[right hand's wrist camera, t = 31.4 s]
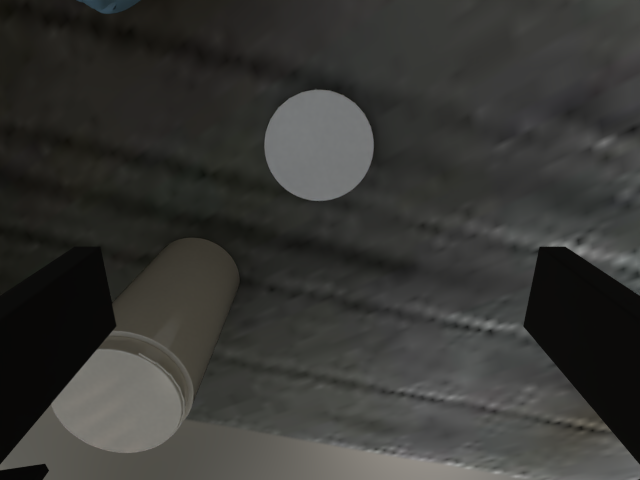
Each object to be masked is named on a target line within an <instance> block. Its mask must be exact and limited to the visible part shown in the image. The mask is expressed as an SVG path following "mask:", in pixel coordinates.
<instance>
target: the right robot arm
mask: <svg viewBox="0 0 640 480" xmlns="http://www.w3.org/2000/svg"><path fill="white" fill-rule="evenodd" d="M115 328H116V321H115V316H114V311H113V306H112V301H111V296H110V292H109V287H108V282H107V277H106V272H105V267H104V262H103V257H102V253H101V248H100V247H74V248H72V249H71V250H69V251H68V252H66V253H65V254H63V255H62V256H60V257H58V258H57V259H55V260H54V261H52V262H51V263H49V264H48V265H46V266H45V267H43V268H42V269H40V270H39V271H37V272H36V273H34V274H33V275H31V276H30V277H28V278H27V279H25V280H24V281H22V282H21V283H19V284H18V285H16V286H15V287H13V288H12V289H10V290H9V291H7V292H5V293H4V294H2V295H1V296H0V464H1V463H2V462H3V460H4V459H5V458H6V457H7V456H8V454H9V453H10V452H11V451H12V450H13V448H14V447H15V446H16V445H17V444H18V443H19V441H20V440H21V439H22V438H23V437H24V435H25V434H26V433H27V432H28V431H29V430H30V428H31V427H32V426H33V425H34V424H35V422H36V421H37V420H38V419H39V418H40V416H41V415H42V414H43V413H44V412H45V411H46V409H47V408H48V407H49V406H50V405H51V403H52V402H53V401H54V400H55V399H56V398H57V396H58V395H59V394H60V393H61V392H62V390H63V389H64V388H65V387H66V386H67V384H68V383H69V382H70V381H71V380H72V379H73V377H74V376H75V375H76V374H77V373H78V371H79V370H80V369H81V368H82V367H83V365H84V364H85V363H86V362H87V361H88V360H89V358H90V357H91V356H92V355H93V354H94V352H95V351H96V350H97V349H98V348H99V346H100V345H101V344H102V343H103V342H104V341H105V339H106V338H107V337H108V336H109V335H110V333H111V332H112V331H113V330H114V329H115ZM524 328H525V329H526V330H527V331H528V332H529V333H530V335H531V336H532V337H533V338H534V339H535V341H536V342H537V343H538V344H539V345H540V346H541V348H542V349H543V350H544V351H545V352H546V354H547V355H548V356H549V357H550V358H551V360H552V361H553V362H554V363H555V364H556V365H557V367H558V368H559V369H560V370H561V371H562V373H563V374H564V375H565V376H566V377H567V379H568V380H569V381H570V382H571V383H572V384H573V386H574V387H575V388H576V389H577V390H578V392H579V393H580V394H581V395H582V396H583V398H584V399H585V400H586V401H587V402H588V403H589V405H590V406H591V407H592V408H593V409H594V411H595V412H596V413H597V414H598V415H599V416H600V418H601V419H602V420H603V421H604V422H605V424H606V425H607V426H608V427H609V428H610V430H611V431H612V432H613V433H614V434H615V435H616V437H617V438H618V439H619V440H620V441H621V443H622V444H623V445H624V446H625V447H626V449H627V450H628V451H629V452H630V453H631V454H632V456H633V457H634V458H635V459H636V460H637V462H638V463H639V464H640V296H639V295H638V294H636V293H635V292H633V291H631V290H630V289H628V288H627V287H625V286H624V285H622V284H621V283H619V282H618V281H616V280H615V279H613V278H612V277H610V276H609V275H607V274H606V273H604V272H603V271H601V270H600V269H598V268H597V267H595V266H594V265H592V264H591V263H589V262H588V261H586V260H585V259H583V258H582V257H580V256H578V255H577V254H575V253H574V252H572V251H571V250H569V249H568V248H566V247H540V248H539V253H538V257H537V262H536V267H535V272H534V277H533V282H532V287H531V292H530V296H529V301H528V306H527V311H526V316H525V321H524ZM639 480H640V479H639Z"/></svg>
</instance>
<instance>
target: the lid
mask: <svg viewBox="0 0 640 480" xmlns="http://www.w3.org/2000/svg"><path fill="white" fill-rule="evenodd" d="M265 134H266V135H265V145H264V148H265V156H266V161H267V163H268V166H269V169H270V171H271V173H272V174H273V176H274V177H275V179H276V180H277V181H278V182H279V183H280V185H281V186H283V187H284V188H285V189H286V190H287V191H289V192H290V193H292V194H294V195H296V196H298V197H301V198H303V199H308V200H314V201H325V200H331V199H335V198H338V197H340V196H342V195H344V194H346V193H348V192H349V191H351V190H352V189H353V188H355V187H356V186H357V185H358V184H359V183H360V182H361V180H362V179H363V178H364V176H365V175H366V173H367V171H368V169H369V167H370V164H371V161H372V157H373V150H374V140H373V134H372V130H371V126H370V124H369V122H368V120H367V118H366V116H365V113H363V112H362V110H361V109H360V108H359V107H358V106H357V105H356V103H355V102H352V101H351V100H350V99H348V98H347V97H345V96H344V95H343V94H342V95H341V94H339V93H336V92H333V91H331V90H316V89H315V90H310V91H305V92H303V91H302V92H301V93H299V94H297V95H295V96H293V97H291V98H288V100H287V101H286V102H284V103H283V104H282V105H281V106H280V107H278V109H277V111H276V112H275V113H274V115H273V116H272V118H271V119H270V122H269V124H268V127H267V130H266V132H265Z"/></svg>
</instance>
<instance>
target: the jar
mask: <svg viewBox="0 0 640 480" xmlns="http://www.w3.org/2000/svg"><path fill="white" fill-rule="evenodd" d="M239 282H240V279H239V272H238V268H237V266H236V264H235V262H234V260H233V259H232V257H231V256H230V255H229V254H228V252H226V251H225V250H224V249H223V248H222V247H220V246H219V245H217V244H215V243H214V242H211V241H209V240H205V239H201V238H183V239H179V240H176V241H174V242H172V243H170V244H168V245H167V246H166V247H165V248H164V249H163V250H161V252H160V253H159V254H158V255H157V256H156V257H155V258H154V259H153V260H152V261H151V262H150V263H149V264H148V265H147V266H146V267H145V268H144V269H143V270H142V271H141V272H140V273H139V275H138V276H137V277H136V278H135V279H134V280H133V281H132V282H131V283H130V284H129V285H128V286H127V287H126V288H125V289H124V290H123V291H122V292H121V293H120V294H119V295H118V296H117V298H116V299H115V300H114V301H113V302H112V306H113V311H114V316H115V321H116V328H115V329H114V330H113V331H112V332H111V333H110V335H109V336H108V337H107V338H106V339H105V341H104V342H103V343H102V344H101V345H100V346H99V348H98V349H97V350H96V351H95V352H94V354H93V355H92V356H91V357H90V358H89V360H88V361H87V362H86V363H85V364H84V365H83V367H82V368H81V369H80V370H79V371H78V373H77V374H76V375H75V376H74V377H73V379H72V380H71V381H70V382H69V383H68V384H67V386H66V387H65V388H64V389H63V390H62V392H61V393H60V394H59V395H58V396H57V398H56V399H55V400H54V401H53V402H52V403H51V406H52V409H53V411H54V413H55V415H56V416H57V418H58V420H59V421H60V422H61V423H62V425H63V426H64V427H65V428H66V429H67V430H68V431H69V432H71V433H72V434H73V435H74V436H76V437H77V438H79V439H80V440H82V441H84V442H86V443H87V444H89V445H92V446H94V447H97V448H100V449H103V450H107V451H112V452H120V453H134V452H141V451H145V450H149V449H152V448H154V447H157V446H159V445H160V444H162V443H164V442H165V441H166V440H167V439H169V438H170V437H171V436H173V434H174V433H175V432H176V430H177V429H178V428H179V427H180V425H181V423H182V422H183V421H184V420H185V418H186V417H187V415H188V414H189V412H190V410H191V407H192V405H193V402H194V400H195V397H196V395H197V392H198V390H199V387H200V385H201V382H202V380H203V377H204V375H205V372H206V370H207V367H208V365H209V362H210V360H211V357H212V355H213V352H214V350H215V347H216V345H217V342H218V340H219V337H220V335H221V332H222V330H223V327H224V325H225V322H226V320H227V317H228V315H229V312H230V310H231V307H232V304H233V302H234V299H235V297H236V294H237V292H238V289H239Z"/></svg>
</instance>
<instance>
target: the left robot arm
mask: <svg viewBox="0 0 640 480" xmlns="http://www.w3.org/2000/svg"><path fill="white" fill-rule="evenodd" d="M77 1H79V2H84V3H85V4H86V5H88V6H89V7H91V8H93V9H95V10H97V11H99V12H101V13H104V14H112V13H118V12H121V11H124V10H126V9H128V8H130V7H131V6H133V5H135V4H136V3H138V2H139V1H140V0H77ZM48 471H49V470H48V468H47V466H46V465H45V464H41V465H34V466H27V467H20V468H14V469H7V470H0V480H43V478H44V477H45V476H46V474H47V473H48Z"/></svg>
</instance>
